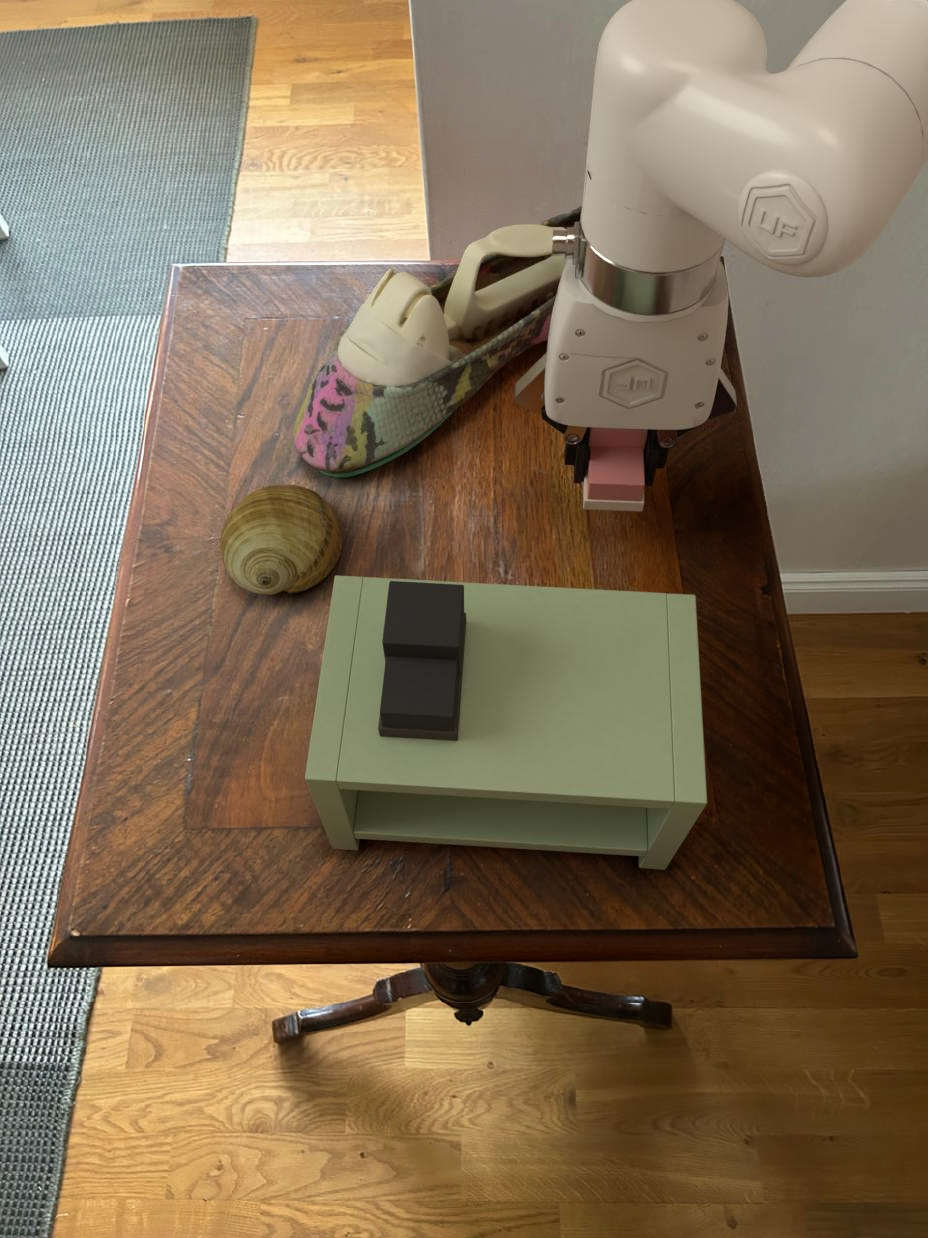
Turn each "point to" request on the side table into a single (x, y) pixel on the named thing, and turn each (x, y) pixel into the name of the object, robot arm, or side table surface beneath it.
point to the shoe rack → (521, 726)
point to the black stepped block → (423, 661)
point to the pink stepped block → (615, 469)
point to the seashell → (280, 540)
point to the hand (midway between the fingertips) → (612, 466)
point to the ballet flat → (429, 348)
